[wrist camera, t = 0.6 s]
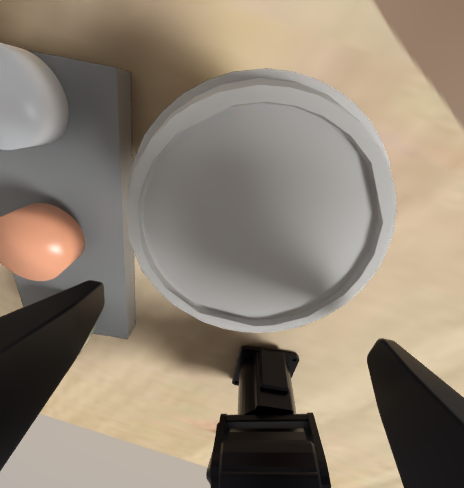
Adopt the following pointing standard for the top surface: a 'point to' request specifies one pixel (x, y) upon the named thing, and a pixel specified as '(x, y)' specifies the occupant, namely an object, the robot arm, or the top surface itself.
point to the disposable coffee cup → (260, 201)
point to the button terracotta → (39, 241)
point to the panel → (83, 186)
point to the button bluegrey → (29, 101)
